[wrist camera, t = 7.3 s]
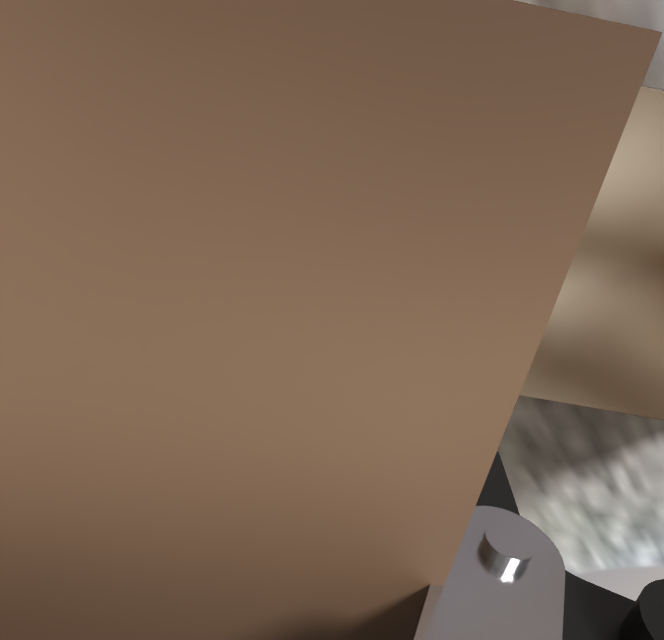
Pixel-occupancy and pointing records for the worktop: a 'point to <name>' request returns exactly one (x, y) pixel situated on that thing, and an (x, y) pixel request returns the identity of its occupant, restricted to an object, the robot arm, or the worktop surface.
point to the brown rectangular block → (276, 296)
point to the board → (614, 286)
